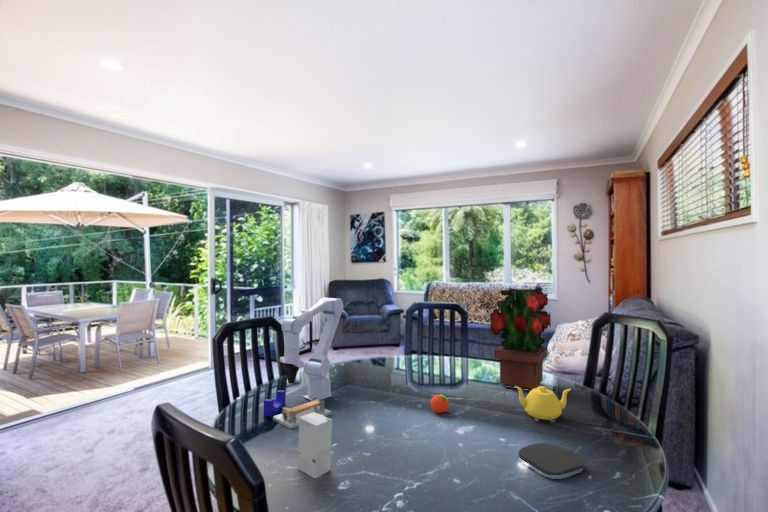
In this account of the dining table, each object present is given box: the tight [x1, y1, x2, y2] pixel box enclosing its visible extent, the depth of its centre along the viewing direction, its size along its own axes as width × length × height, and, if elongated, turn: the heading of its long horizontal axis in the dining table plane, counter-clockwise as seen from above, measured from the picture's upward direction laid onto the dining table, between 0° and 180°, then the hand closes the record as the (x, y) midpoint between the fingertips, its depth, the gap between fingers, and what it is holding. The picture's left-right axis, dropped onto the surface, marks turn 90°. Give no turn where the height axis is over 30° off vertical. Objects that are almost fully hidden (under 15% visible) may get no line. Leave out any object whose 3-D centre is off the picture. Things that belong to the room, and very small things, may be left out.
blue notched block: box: [263, 389, 286, 417], centre depth 153 cm, size 12×4×6 cm, turn 168°
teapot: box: [515, 385, 572, 421], centre depth 145 cm, size 20×15×12 cm
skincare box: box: [296, 412, 333, 479], centre depth 109 cm, size 8×6×15 cm
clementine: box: [430, 393, 450, 414], centre depth 150 cm, size 8×7×7 cm
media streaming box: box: [518, 442, 585, 475], centre depth 112 cm, size 15×15×3 cm
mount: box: [272, 397, 332, 430], centre depth 146 cm, size 18×12×5 cm, turn 136°
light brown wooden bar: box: [284, 399, 321, 415], centre depth 147 cm, size 15×4×2 cm, turn 136°
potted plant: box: [489, 288, 552, 390], centre depth 181 cm, size 22×22×45 cm
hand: (291, 382), depth 154 cm, fingers closed
